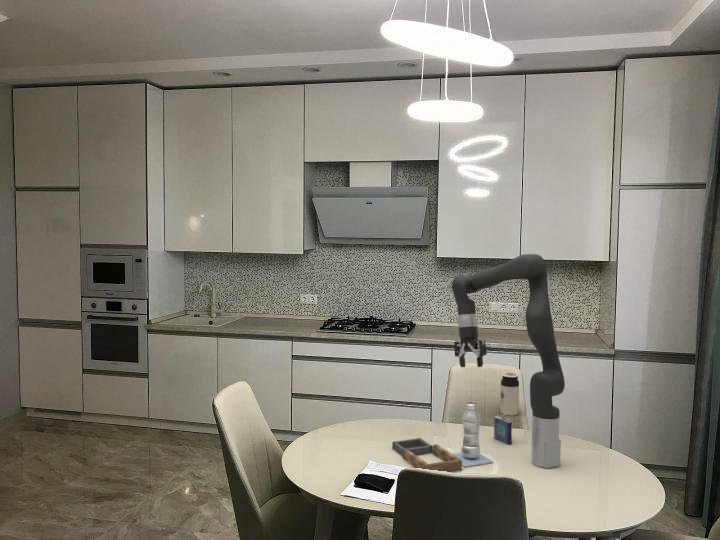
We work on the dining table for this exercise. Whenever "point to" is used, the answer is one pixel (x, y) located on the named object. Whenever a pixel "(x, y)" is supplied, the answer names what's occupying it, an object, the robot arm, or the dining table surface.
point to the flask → (503, 429)
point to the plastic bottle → (471, 431)
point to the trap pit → (413, 446)
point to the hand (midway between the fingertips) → (471, 367)
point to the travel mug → (509, 394)
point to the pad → (473, 460)
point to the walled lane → (448, 464)
